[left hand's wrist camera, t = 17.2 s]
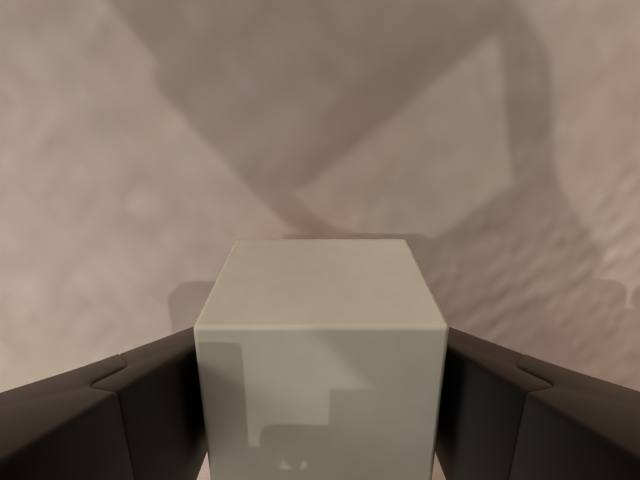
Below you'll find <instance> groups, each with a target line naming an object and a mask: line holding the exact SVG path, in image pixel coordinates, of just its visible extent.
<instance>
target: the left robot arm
mask: <svg viewBox="0 0 640 480" xmlns="http://www.w3.org/2000/svg"><path fill="white" fill-rule="evenodd" d="M193 328H194V327H192V328H189V329H186V330H184V331H181V332H178V333H176V334H173V335H170V336H167V337H165V338H162V339H159V340H157V341H154V342H151V343H149V344H146V345H143V346H140V347H138V348H135V349H132V350H130V351H127V352H124V353H122V354H120V355H119V354H117V355H115V356H112V357H109V358H106V359H104V360H101V361H98V362H95V363H92V364H89V365H87V366H84V367H81V368H78V369H74V370H71V371H68V372H65V373H62V374H59V375H56V376H53V377H50V378H46V379H43V380H40V381H37V382H34V383H30V384H27V385H24V386H21V387H18V388H14V389H11V390H8V391H5V392H2V393H0V480H196V479H197V477H198V474H199V471H200V469H201V466H202V463H203V461H204V458H205V456H206V453H207V442H206V433H205V425H204V416H203V407H202V399H201V390H200V381H199V373H198V364H197V355H196V347H195V338H194V329H193ZM435 452H436V454H437V457H438V460H439V462H440V465H441V467H442V470H443V473H444V475H445V478H446V480H640V392H639V391H636V390H632V389H629V388H626V387H623V386H620V385H616V384H613V383H610V382H607V381H604V380H600V379H597V378H594V377H591V376H587V375H584V374H581V373H578V372H575V371H572V370H569V369H566V368H563V367H560V366H557V365H554V364H551V363H548V362H545V361H542V360H539V359H537V358H534V357H531V356H528V355H526V354H524V355H523V354H521V353H518V352H516V351H513V350H510V349H508V348H505V347H502V346H499V345H497V344H494V343H491V342H489V341H486V340H483V339H480V338H478V337H475V336H472V335H470V334H467V333H464V332H461V331H459V330H456V329H453V328H451V327H449V333H448V342H447V350H446V359H445V368H444V376H443V385H442V394H441V402H440V411H439V420H438V428H437V437H436V446H435Z"/></svg>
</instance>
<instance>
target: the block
mask: <svg viewBox="0 0 640 480" xmlns="http://www.w3.org/2000/svg"><path fill="white" fill-rule="evenodd" d="M193 329H194V338H195V347H196V355H197V364H198V373H199V381H200V390H201V399H202V407H203V416H204V425H205V433H206V442H207V451H208V459H209V468H210V477H211V480H432V472H433V463H434V454H435V446H436V437H437V428H438V420H439V411H440V402H441V394H442V385H443V376H444V368H445V359H446V350H447V342H448V333H449V327H448V324H447V322H446V320H445V318H444V316H443V314H442V312H441V310H440V308H439V306H438V304H437V302H436V300H435V298H434V296H433V294H432V292H431V290H430V288H429V286H428V284H427V282H426V280H425V278H424V276H423V274H422V272H421V270H420V268H419V266H418V264H417V262H416V259H415V257H414V255H413V253H412V251H411V249H410V247H409V245H408V243H407V241H406V240H404V239H238V240H236V241H235V243H234V245H233V247H232V250H231V252H230V254H229V256H228V258H227V260H226V262H225V264H224V266H223V268H222V270H221V272H220V274H219V276H218V278H217V280H216V282H215V284H214V286H213V288H212V291H211V293H210V295H209V297H208V299H207V301H206V303H205V305H204V307H203V309H202V311H201V313H200V315H199V317H198V319H197V321H196V323H195V326H194V328H193Z"/></svg>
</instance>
